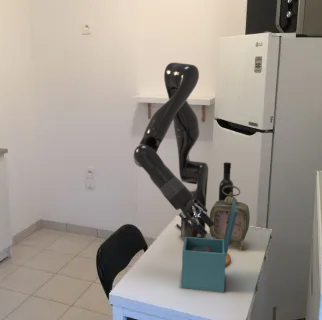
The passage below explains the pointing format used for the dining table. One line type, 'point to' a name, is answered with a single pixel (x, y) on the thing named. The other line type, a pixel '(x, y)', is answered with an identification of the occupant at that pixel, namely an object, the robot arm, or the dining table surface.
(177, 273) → the dining table surface
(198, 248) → the can
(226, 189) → the wine bottle
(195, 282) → the teal open box
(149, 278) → the dining table surface
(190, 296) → the dining table surface
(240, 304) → the dining table surface
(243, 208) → the tabletop clock
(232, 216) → the teal box lid
